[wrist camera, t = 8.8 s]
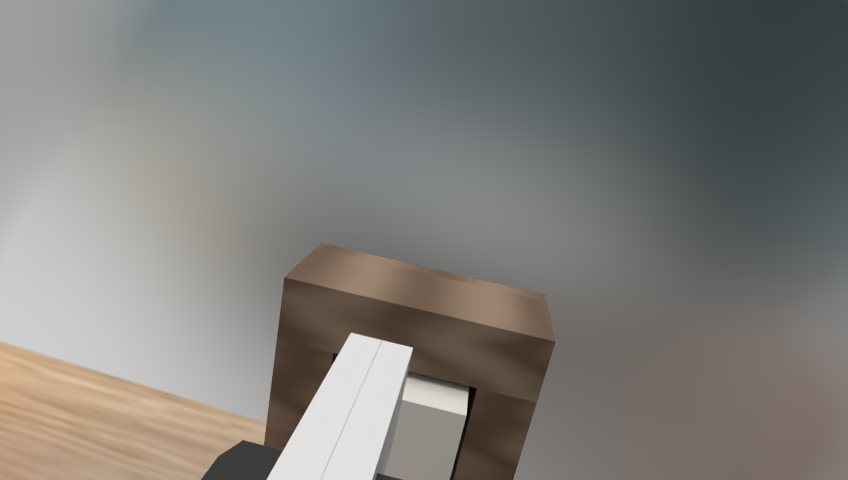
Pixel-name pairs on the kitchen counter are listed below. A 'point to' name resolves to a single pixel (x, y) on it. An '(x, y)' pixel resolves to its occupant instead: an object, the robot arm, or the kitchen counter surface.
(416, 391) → the white key
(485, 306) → the key panel
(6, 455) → the kitchen counter surface
